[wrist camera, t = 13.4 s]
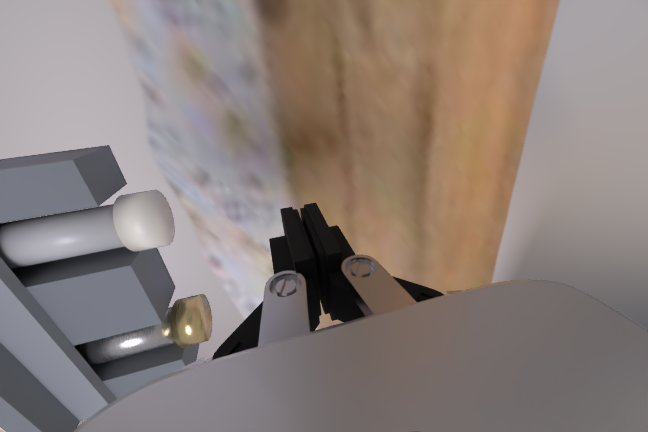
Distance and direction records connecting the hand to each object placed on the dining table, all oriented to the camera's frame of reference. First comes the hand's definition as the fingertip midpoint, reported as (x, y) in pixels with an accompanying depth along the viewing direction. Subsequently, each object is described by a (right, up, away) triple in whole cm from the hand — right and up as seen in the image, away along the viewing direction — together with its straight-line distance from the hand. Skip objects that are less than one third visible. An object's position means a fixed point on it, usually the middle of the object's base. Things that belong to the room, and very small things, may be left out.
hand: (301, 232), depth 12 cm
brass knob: (-15, -8, +11) cm, 21 cm away
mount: (-18, -4, +9) cm, 20 cm away
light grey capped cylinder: (-16, +1, +7) cm, 17 cm away
